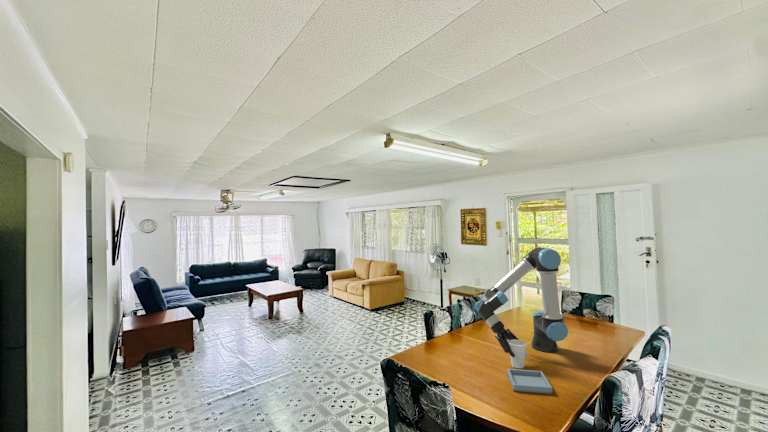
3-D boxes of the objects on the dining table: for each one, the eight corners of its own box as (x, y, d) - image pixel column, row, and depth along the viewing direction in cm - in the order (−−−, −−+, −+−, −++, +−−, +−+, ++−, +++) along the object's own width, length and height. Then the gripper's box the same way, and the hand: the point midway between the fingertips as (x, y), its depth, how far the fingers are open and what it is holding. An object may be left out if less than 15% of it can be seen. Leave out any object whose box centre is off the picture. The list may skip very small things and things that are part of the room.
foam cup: (505, 362, 179) (505, 339, 179) (521, 361, 179) (520, 339, 180) (514, 370, 169) (513, 346, 170) (530, 369, 170) (529, 345, 170)
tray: (542, 376, 161) (541, 371, 161) (552, 394, 144) (552, 387, 145) (507, 374, 165) (507, 368, 165) (513, 391, 148) (513, 384, 148)
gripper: (500, 323, 194) (526, 356, 182) (481, 332, 179) (509, 368, 166) (507, 316, 190) (535, 349, 178) (489, 324, 175) (518, 361, 163)
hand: (523, 359), depth 172 cm, fingers closed on foam cup, 9 cm apart
